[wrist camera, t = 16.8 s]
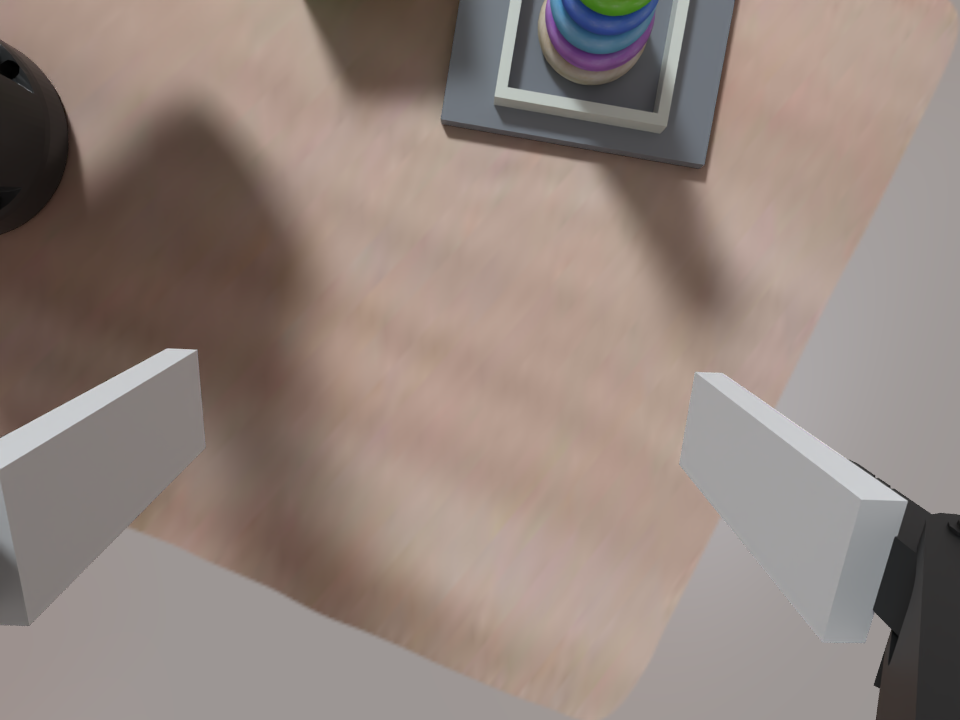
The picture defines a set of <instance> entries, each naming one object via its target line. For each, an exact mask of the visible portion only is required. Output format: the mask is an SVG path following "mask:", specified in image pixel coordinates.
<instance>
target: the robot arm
mask: <svg viewBox="0 0 960 720" xmlns="http://www.w3.org/2000/svg"><path fill="white" fill-rule="evenodd" d="M67 153H68V129H67V123H66V118H65V114H64V110H63V107H62V104H61V102H60V99H59V97H58V95H57V93H56V91H55V89H54V87H53V86H52V84H51V83H50V81H49V80H48V78H47V77H46V76H45V74H44V73H43V72H42V71H41V70H40V68H39V67H38V66H37V65H36V64H35V63H34V62H32V61H31V60H30V59H29V58H28V57H27V56H25V55H24V54H23V53H21V52H20V51H18V50H17V49H15V48H13V47H12V46H10V45H8V44H7V43H5V42H4V41H2V40H0V234H2V233H5V232H8V231H10V230H13V229H15V228H17V227H18V226H20V225H22V224H24V223H25V222H27V221H28V220H29V219H31V218H32V217H33V216H34V215H36V214H37V213H38V212H39V211H40V210H41V209H42V208H43V207H44V206H45V204H46V203H47V202H48V201H49V199H50V198H51V196H52V195H53V193H54V192H55V190H56V188H57V186H58V184H59V182H60V180H61V177H62V175H63V172H64V168H65V164H66V160H67ZM205 448H206V443H205V432H204V420H203V409H202V397H201V385H200V374H199V362H198V350H192V349H170V348H167V349H165V350H163V351H161V352H159V353H158V354H156V355H154V356H152V357H150V358H148V359H146V360H145V361H143V362H141V363H139V364H137V365H135V366H133V367H132V368H130V369H128V370H126V371H124V372H122V373H120V374H119V375H117V376H115V377H113V378H111V379H109V380H107V381H106V382H104V383H102V384H100V385H98V386H96V387H94V388H93V389H91V390H89V391H87V392H85V393H83V394H81V395H80V396H78V397H76V398H74V399H72V400H70V401H68V402H67V403H65V404H63V405H61V406H59V407H57V408H55V409H54V410H52V411H50V412H48V413H46V414H44V415H42V416H41V417H39V418H37V419H35V420H33V421H31V422H29V423H28V424H26V425H24V426H22V427H20V428H18V429H16V430H14V431H13V432H11V433H8V434H6V435H4V436H2V437H0V625H17V626H18V625H19V626H30V625H31V624H32V623H33V622H34V620H36V619H37V618H38V617H39V616H40V615H41V613H43V612H44V610H46V609H47V607H49V606H50V604H51V603H52V602H53V601H54V600H55V599H56V598H57V597H58V596H59V595H60V594H61V593H62V592H63V591H64V590H65V589H66V588H67V587H68V586H69V585H70V584H71V583H72V582H73V581H74V580H75V579H76V578H77V577H78V576H79V575H80V574H81V573H82V572H83V571H84V570H85V569H86V568H87V567H88V566H89V565H90V564H91V563H92V562H93V561H94V560H95V559H96V558H97V557H98V556H99V555H100V554H101V553H102V552H103V551H104V550H105V549H106V548H107V547H108V546H109V545H110V544H111V543H112V542H113V541H114V540H115V539H116V538H117V537H118V536H119V535H120V534H121V533H122V532H123V531H124V530H125V529H126V528H127V527H128V526H129V525H130V524H131V523H132V522H133V521H134V520H135V519H136V518H137V516H138V515H139V514H140V513H141V512H142V511H143V510H144V509H145V508H146V507H147V506H148V505H149V504H150V503H151V502H152V501H153V500H154V499H155V498H156V497H157V496H158V495H159V494H160V493H161V492H162V491H163V490H164V489H165V488H166V487H167V486H168V485H169V484H170V483H171V482H172V481H173V480H174V479H175V478H176V477H177V476H178V475H179V474H180V473H181V472H182V471H183V470H184V469H185V468H186V467H187V466H188V465H189V464H190V463H191V462H192V461H193V460H194V459H195V458H196V457H197V456H198V455H199V454H200V453H201V452H202V451H203V450H204V449H205ZM679 465H680V466H681V467H682V469H683V470H684V471H685V472H686V474H687V475H688V476H689V477H690V479H691V480H692V481H693V482H694V484H695V485H696V486H697V487H698V489H699V490H700V491H701V492H702V494H703V495H704V496H705V497H706V499H707V500H708V501H709V502H710V504H711V505H712V506H713V507H714V508H715V510H716V511H717V512H718V513H719V515H720V516H721V517H722V518H723V520H724V521H725V522H726V523H727V525H728V526H729V527H730V528H731V529H732V531H733V532H734V533H735V535H736V536H737V537H738V538H739V540H740V541H741V542H742V543H743V545H744V546H745V547H746V548H747V550H748V551H749V552H750V553H751V554H752V556H753V557H754V558H755V559H756V561H757V562H758V563H759V564H760V566H761V567H762V568H763V569H764V571H765V572H766V573H767V574H768V576H769V577H770V578H771V579H772V581H773V582H774V583H775V584H776V586H777V587H778V588H779V589H780V591H781V592H782V593H783V594H784V595H785V597H786V598H787V599H788V601H789V602H790V603H791V604H792V605H793V607H794V608H795V609H796V610H797V612H798V613H799V614H800V615H801V617H802V618H803V619H804V620H805V622H806V623H807V624H808V625H809V626H810V628H811V629H812V630H813V631H814V633H815V634H816V635H817V636H818V638H819V639H820V640H821V642H835V643H865V642H866V638H867V635H868V632H869V628H870V625H871V622H872V619H873V615H874V612H875V613H876V614H877V615H878V616H879V617H880V618H881V619H882V620H883V621H884V622H885V623H886V624H887V625H888V626H889V627H890V628H891V632H890V636H889V639H888V642H887V645H886V648H885V651H884V654H883V658H882V661H881V664H880V667H879V670H878V673H877V676H876V680H875V683H874V686H876V687H878V688H880V693H879V700H878V707H877V715H876V720H960V515H957V514H945V513H938V514H930V513H929V512H927V511H926V510H925V509H923V508H922V507H920V506H919V505H917V504H916V503H914V502H913V501H911V500H910V499H909V498H907V497H906V496H904V495H903V494H901V493H900V492H898V491H897V490H895V489H891V488H890V485H888V484H887V483H885V482H884V481H882V480H880V479H879V478H875V475H873V474H872V473H870V472H869V471H867V470H866V469H865V468H863V467H862V466H860V465H859V464H857V463H855V462H853V461H851V460H848V459H846V458H845V457H843V456H842V455H841V454H839V453H838V452H836V451H835V450H833V449H832V448H830V447H829V446H827V445H826V444H825V443H823V442H822V441H820V440H819V439H817V438H816V437H814V436H813V435H811V434H810V433H809V432H807V431H806V430H804V429H803V428H801V427H800V426H799V425H797V424H796V423H794V422H793V421H791V420H790V419H788V418H787V417H785V416H784V415H783V414H781V413H780V412H778V411H777V410H775V409H774V408H772V407H771V406H770V405H768V404H767V403H765V402H764V401H762V400H761V399H759V398H758V397H757V396H755V395H754V394H752V393H751V392H749V391H748V390H746V389H745V388H744V387H742V386H741V385H739V384H738V383H736V382H735V381H733V380H732V379H731V378H729V377H728V376H726V375H725V374H723V373H708V372H695V375H694V381H693V387H692V393H691V398H690V404H689V410H688V416H687V422H686V428H685V433H684V439H683V445H682V451H681V457H680V463H679Z"/></svg>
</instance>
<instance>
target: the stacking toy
mask: <svg viewBox="0 0 960 720" xmlns="http://www.w3.org/2000/svg"><path fill="white" fill-rule="evenodd" d="M658 1H659V0H544V2H543V5H542V7H541V10H540V14H539V19H538V38H539V43H540V47H541V49H542V52H543V54H544V56H545V58H546V60H547V61H548V63H549V64H550V65H551V67H552V68H553V69H554V70H555V71H556V72H557V73H558V74H560V75H561V76H563V77H564V78H566V79H568V80H570V81H572V82H575V83H578V84H582V85H601V84H605V83H609V82H612V81H614V80H616V79H618V78H620V77H621V76H623V75H624V74H626V73H627V72H628V71H629V70H630V69H631V68H632V67H633V66H634V65H635V63H636V62H637V61H638V59H639V58H640V56H641V54H642V52H643V51H644V48H645V46H646V43H647V40H648V38H649V36H650V34H651V31H652V28H653V25H654V20H655V10H656V6H657V3H658Z"/></svg>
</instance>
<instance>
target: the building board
mask: <svg viewBox="0 0 960 720" xmlns="http://www.w3.org/2000/svg"><path fill="white" fill-rule="evenodd" d="M543 2H544V0H460V3H459V9H458V15H457V21H456V28H455V34H454V40H453V46H452V53H451V59H450V65H449V71H448V78H447V84H446V90H445V96H444V103H443V109H442V115H441V123H442V124H445V125H450V126H456V127H462V128H468V129H473V130H479V131H485V132H491V133H497V134H502V135H508V136H514V137H520V138H525V139H531V140H537V141H543V142H548V143H554V144H560V145H566V146H571V147H577V148H583V149H589V150H594V151H600V152H606V153H612V154H617V155H623V156H629V157H635V158H640V159H646V160H652V161H658V162H664V163H669V164H675V165H681V166H687V167H692V168H698V169H699V168H701V167H702V166H704V164H705V159H706V154H707V148H708V143H709V137H710V132H711V127H712V121H713V116H714V110H715V105H716V99H717V94H718V89H719V83H720V78H721V72H722V67H723V62H724V56H725V51H726V45H727V40H728V35H729V29H730V24H731V18H732V13H733V7H734V2H735V0H659V1H658V3H657V6H656V10H655V20H654V25H653V28H652V31H651V34H650V36H649V38H648V40H647V43H646V46H645V48H644V51H643V52H642V54H641V56H640V58H639V59H638V61H637V62H636V63H635V65H634V66H633V67H632V68H631V69H630V70H629V71H628V72H627V73H626V74H624V75H623V76H621V77H620V78H618V79H616V80H614V81H612V82H609V83H605V84H601V85H582V84H578V83H575V82H572V81H570V80H568V79H566V78H564V77H563V76H561V75H560V74H558V73H557V72H556V71H555V70H554V69H553V68H552V67H551V65H550V64H549V63H548V61H547V60H546V58H545V56H544V54H543V52H542V49H541V47H540V43H539V38H538V19H539V14H540V10H541V7H542V5H543Z"/></svg>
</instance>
